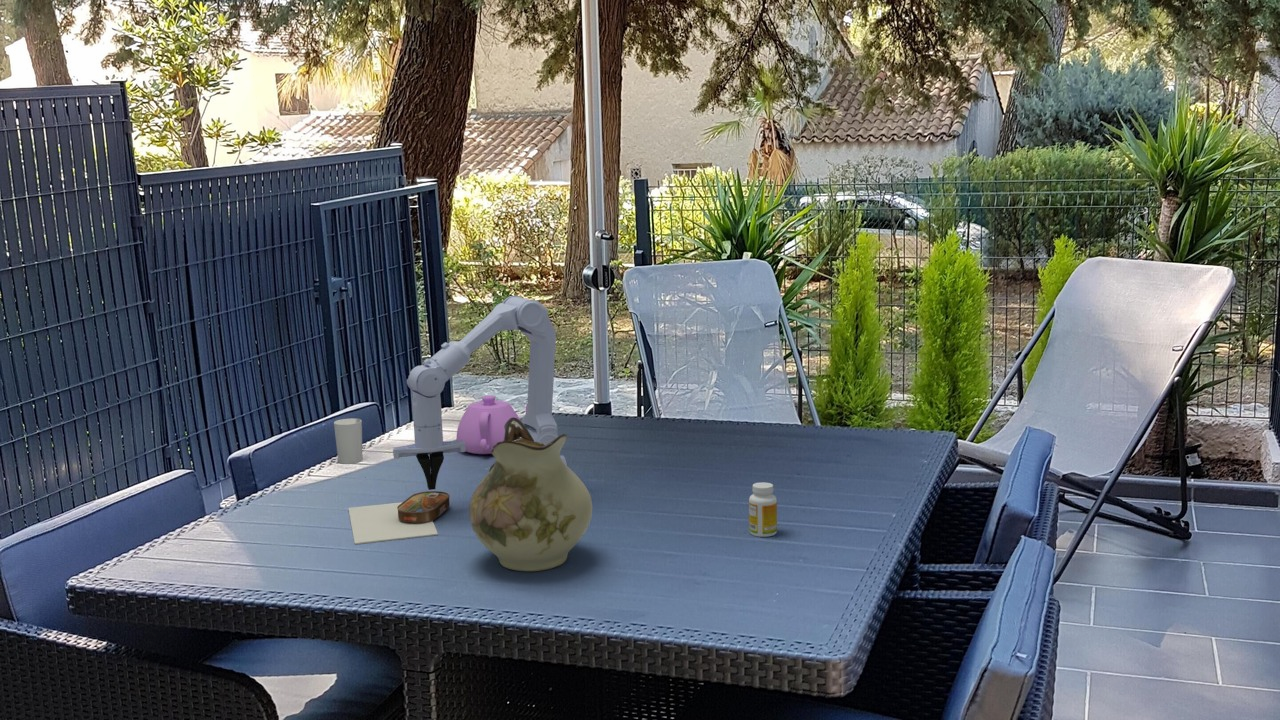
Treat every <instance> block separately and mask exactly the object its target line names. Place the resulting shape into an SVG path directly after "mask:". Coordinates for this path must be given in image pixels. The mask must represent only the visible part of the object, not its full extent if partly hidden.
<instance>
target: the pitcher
mask: <svg viewBox="0 0 1280 720" xmlns="http://www.w3.org/2000/svg"><path fill="white" fill-rule="evenodd" d="M519 419H520V418H519ZM519 419H517V418H514V417H512V418H510V419H509V420H508V421H507V422H506V424H505V426H504V428H505V436H504V441H502V442H498V443H497V444H496V445H494V446H493V449H492V450H491V453H492V454H491V455H492V456H493V458H494V460H495V461H494V463H493V464H491V466H490V469H489V470H488V473H487V474H486V475H484V477H483V479H482V480H480V483H479V484H477V487H476V488H475V489H474V491H473V494H471V495H472V496H471V499H470V501H469V508H468V515H469V521H470V525H471V528H472V531H473V533H474V534H475V536H476V537H477V539H478V540H479V542H480V543H481V544H482V545H483V546H484V547H485V548H486V549H488V551H489V552H491V553H492V554H493V555H495V556H497V559H498V562H499V563H500V565H501V566H502V567H504V568H505V569H509V570H513V571H517V572H541V571H546V570H551V569H553V568H554V569H555V568H556V567H560V566H561V565H562V564H564V563H565V562H566V561H567V560H568V559H567V558H568V554H569V552H570V551H571V550H572V549H573V548H574V547H575V546H576V544H578V542H579V541H580V540H581V539H582V537H583V536H584V534H585V533H586V532H587V530H588V528H589V525H590V523H591V520H592V516H593V501H592V500H593V499H592V496H591V494H590V491H589V490H588V488H587V487H586V485H585V484H584V482H582V481H583V480H581V479H580V478H579V477H578V475H577V474H576V473H575V472H574V471H573V470H572V469H571V468H570V467H569V466H568V465H567V466H566V465H565V464H564V462H563V461H562V460H561V457H560V456H561V451H562V448H563V447H564V445H565V443H566V441H567V439H568V434H565V433H562V434H561V435H558V436H559V437H557V438H556V439H554V440H553V441H551V442H550V443H548V444H547V445H544V444H543V443H539V442H535V441H534V439H533V438H532V436H531V434H530V433H529V431H528V430H527V428H526V427H525V425H524V424H523V423H522V422H521V421H522V420H521V419H520V420H519Z"/></svg>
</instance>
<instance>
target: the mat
mask: <svg viewBox="0 0 1280 720" xmlns="http://www.w3.org/2000/svg"><path fill="white" fill-rule="evenodd" d="M403 502H404V501H401V502H393V503H392V502H391V503H383V504H373V505H364V506H355V507H354V506H353V507H348V514H349V520H350V525H351V531H352V537H353V543H354V545H361V544H363V545H364V544H370V543H371V544H372V543H380V542H381V543H382V542H390V541H400V540H408V538H409V539H414V538H415V539H416V538H424V537H435V536H439V533H438V531H437V528H436V525H435V523H434V522H433V521H434V520H433V521H430V522H425V523H415V522H402V521H400V520H399V518H398V509H397V507H398V506H399V505H400V504H401V503H403Z"/></svg>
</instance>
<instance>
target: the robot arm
mask: <svg viewBox="0 0 1280 720" xmlns="http://www.w3.org/2000/svg"><path fill="white" fill-rule="evenodd" d="M516 330H519V331H520V332H521V333H522V334H523V335H524V336H525V337H526V338H527V339H528V340H529V341H530V344H529V345H530V346H529V360H528V361H529V363H528V365H529V367H528V381H527V382H528V383H527V385H528V387H527V403H526V405H527V413H526V412H525V413H526V414H524V416H523V417H522V418H521V421H522V423H523V424H524V425H525V427H526V428H527V430H528V431H529V433H530V434H531V436H532V438H533V439H534V441H535V442H539V443H543V444H544V445H547V444H548V443H550V442H551V441H553V440H554V439H556V438H557V437H559V436H560V435H559V434H558V424H557V422H556V420H555V418H554V416H553V401H554V399H553V398H554V380H555V379H554V378H555V363H556V362H555V358H556V344H557V343H556V340H557V338H556V337H557V334H556V329H555V327H554V326H553V323H552V321H551V318H550V317H549V309H548V308H547V307H546V306H544V305H543V304H542V303H541V302H540V301H538V300H535V299H530V298H529V299H528V298H524V297H521V296H518V295H511V296H507V297H506V298H505V299H504V300H503V301H502V302H500V303H498V304H497V305H495V307H494V308H493V309H492V311H491V312H490V313H488V314H487V316H485V318H484V319H482V320H481V321H480V322H479V323H478V324H477V325H476V326H475V327H473V328H472V330H470V331H469V332H468V333H467V334H466V335H465V336H464V337H463V338H462V339H461V340H459V341H455V340H450V341H449V342H446V341H445V342H443V343H442V344H441V345H440V346H441V348H440V350H439V351H437V352H436V353H435V354H433V355H432V356H431V357H430V358H426V359H425V360H424V361H423V363H424V364H421V365H417V366H415V367H413V368H412V369H411V370H410V371H409V375H408V378H407V379H406V385H407V386H408V388H409V389H410V390H411V393H412V394H411V395H412V418H413V431H414V432H413V434H414V437H413V438H414V443H412V444H407V445H406V444H405V445H402V446H393V447H392V454H393V455H392V456H393V459H399V458H406V457H416V459H417V462H418V464H419V465H420V467H421V469H422V471H423V474H424V478H425V481H426V485H427V489H428V491H434V490H437V489H436V486H437V479H438V476H439V472H440V469H441V466H442V465H443V462H444V459H445V456H444V454H448V453H450V454H451V453H465V452H466V450H465V442H464V441H457V440H455V441H454V440H453V441H451V440H450V441H444V433H443V418H442V416H443V415H442V399H441V393H442V392H443V391H444V388H445V384H446V382H448V381H449V380H451V378H452V377H453V376H455V375H456V374H457V373H459V372H460V371H461V370H462V369H463V368H464V367H465V366H466V365H468V363H470V361H471V354H472V353H473V352H475V351H476V350H477V349H479V348H480V347H481V346H482V345H484V344H485V343H486V342H488V341H490V339H492V338H493V337H494V336H496V335H497V334H498V333H500V332H502V331H503V332H504V331H516ZM560 457H561V460H562V461H563V462H564V464H565V465H566V466H567V467H568V465H567V461H566V457H565V455H561V454H560Z"/></svg>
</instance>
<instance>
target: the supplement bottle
mask: <svg viewBox="0 0 1280 720" xmlns="http://www.w3.org/2000/svg"><path fill="white" fill-rule="evenodd" d="M773 493H774V484H773V483H770V482H763V481H762V482H755V483H753V484H752V494H751V495H749V499H748V515H749V518H748V523H749V524H748V529H749V534H750V535H752V536H754V537H760V538H767V537H772V536H775V535H776V534H777V532H778V514H777V513H778V501H777V499H778V498H777V497H776V495H775V494H773Z"/></svg>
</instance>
